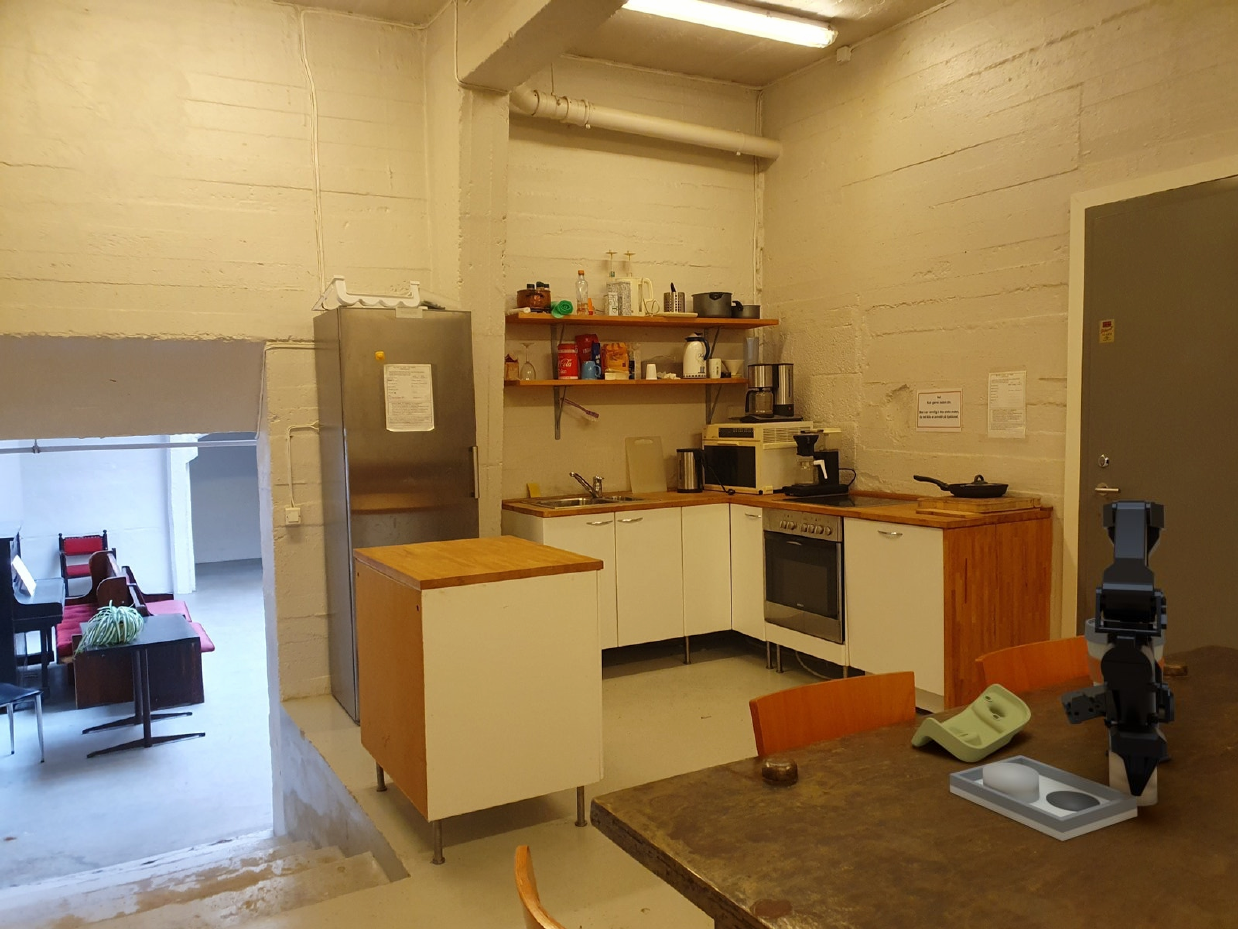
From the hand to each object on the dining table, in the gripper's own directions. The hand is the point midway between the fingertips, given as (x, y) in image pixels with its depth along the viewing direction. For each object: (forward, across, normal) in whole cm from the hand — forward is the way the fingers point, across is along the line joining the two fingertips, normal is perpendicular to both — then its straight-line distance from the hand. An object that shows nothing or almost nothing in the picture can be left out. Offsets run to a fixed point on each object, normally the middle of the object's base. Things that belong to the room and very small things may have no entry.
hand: (1133, 786), depth 123 cm
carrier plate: (+2, +6, -12) cm, 13 cm away
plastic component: (+2, -16, -20) cm, 26 cm away
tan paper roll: (+2, 0, 0) cm, 2 cm away
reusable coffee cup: (+2, -42, +3) cm, 42 cm away
